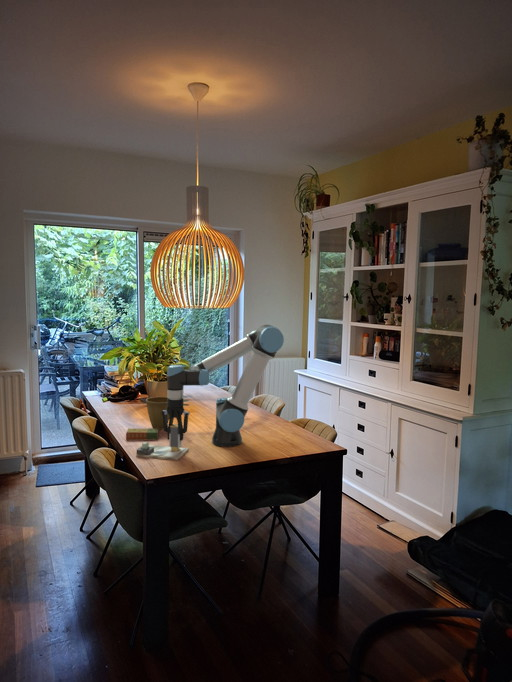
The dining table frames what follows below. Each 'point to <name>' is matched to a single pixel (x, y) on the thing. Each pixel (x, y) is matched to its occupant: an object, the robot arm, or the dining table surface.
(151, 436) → the carton
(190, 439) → the dining table surface
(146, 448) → the button
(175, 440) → the grey rectangular bar
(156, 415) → the plant pot
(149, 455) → the white tray
